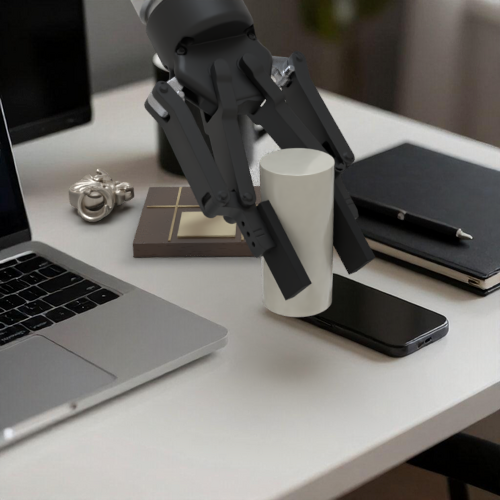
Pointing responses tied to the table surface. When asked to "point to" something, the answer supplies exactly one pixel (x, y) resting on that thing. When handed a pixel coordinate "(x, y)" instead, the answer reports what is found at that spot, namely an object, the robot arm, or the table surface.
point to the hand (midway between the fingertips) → (330, 278)
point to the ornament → (98, 195)
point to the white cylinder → (301, 224)
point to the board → (184, 227)
